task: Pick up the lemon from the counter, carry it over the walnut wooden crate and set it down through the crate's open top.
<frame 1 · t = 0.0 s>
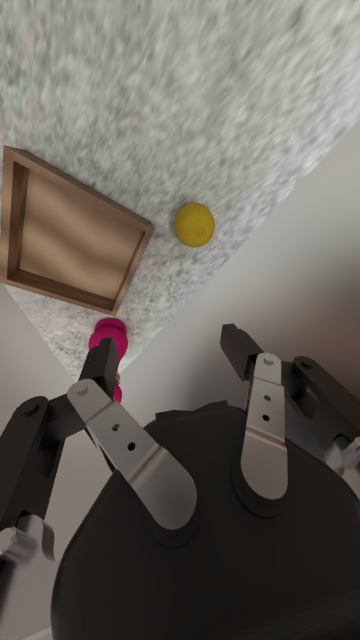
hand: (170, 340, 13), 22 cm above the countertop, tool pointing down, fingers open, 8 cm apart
lemon: (187, 220, 29), on the countertop
crate: (82, 245, 28), on the countertop
pepper mill: (111, 328, 40), on the countertop
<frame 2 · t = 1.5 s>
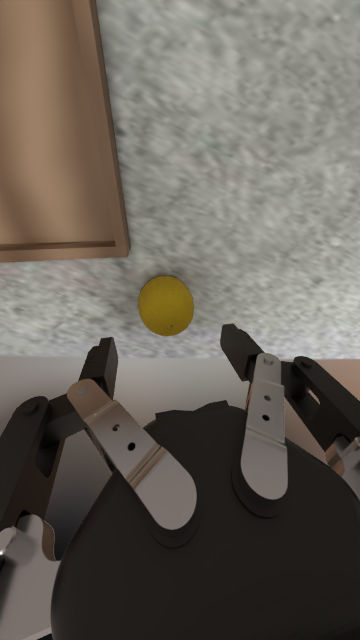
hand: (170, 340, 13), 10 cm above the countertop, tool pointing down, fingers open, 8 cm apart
lemon: (161, 289, 22), on the countertop
crate: (3, 136, 13), on the countertop
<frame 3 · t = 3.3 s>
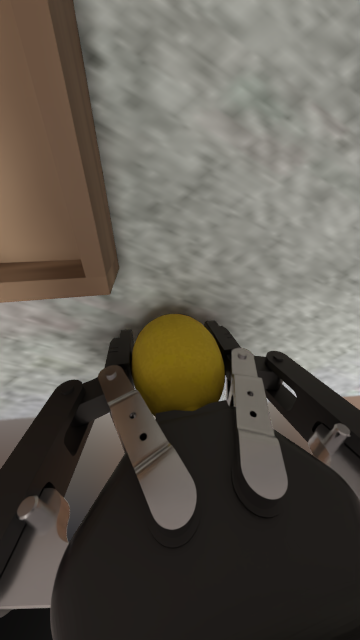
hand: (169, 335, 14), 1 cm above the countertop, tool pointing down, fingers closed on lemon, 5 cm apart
lemon: (167, 326, 15), on the countertop, touching gripper
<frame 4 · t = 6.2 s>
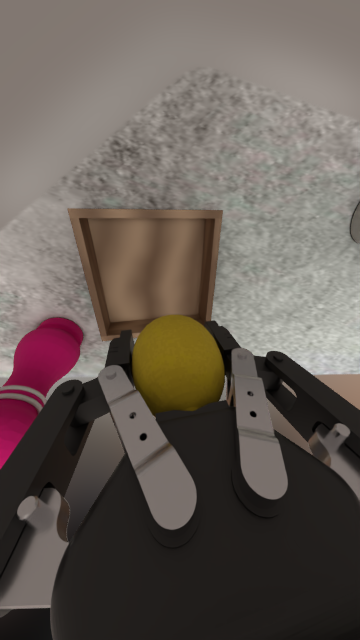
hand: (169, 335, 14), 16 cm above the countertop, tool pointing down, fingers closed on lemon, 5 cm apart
lemon: (167, 326, 15), point 14 cm above the countertop, touching gripper
crate: (153, 273, 27), on the countertop
pepper mill: (62, 333, 29), on the countertop
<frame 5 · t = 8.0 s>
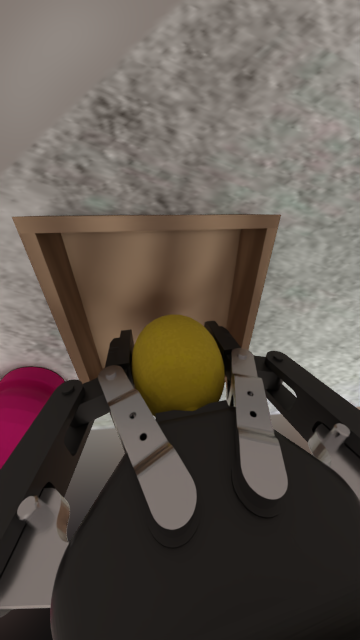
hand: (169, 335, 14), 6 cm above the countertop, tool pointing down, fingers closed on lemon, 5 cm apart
lemon: (167, 326, 15), point 4 cm above the countertop, touching gripper
crate: (161, 304, 19), on the countertop
pepper mill: (37, 384, 21), on the countertop
when the fingers open (4 cm above the countertop, at t = 9.2 s): lemon drops 2 cm, resting on crate.
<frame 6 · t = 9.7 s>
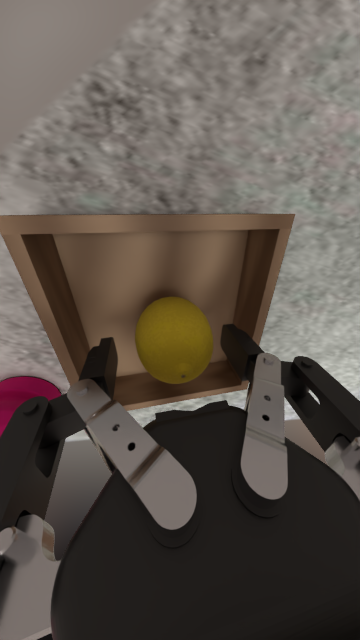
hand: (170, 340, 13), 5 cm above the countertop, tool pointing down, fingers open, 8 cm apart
lemon: (167, 311, 17), point 1 cm above the countertop, touching crate
crate: (162, 309, 18), on the countertop
pepper mill: (30, 394, 20), on the countertop
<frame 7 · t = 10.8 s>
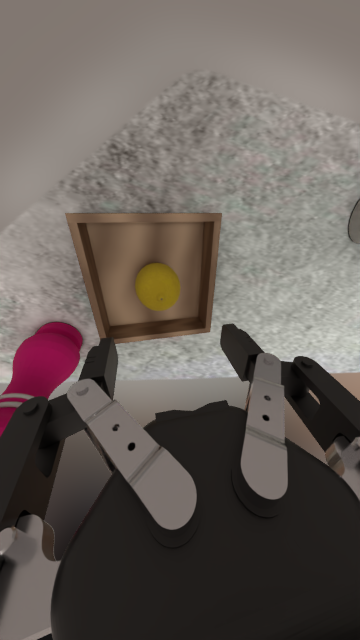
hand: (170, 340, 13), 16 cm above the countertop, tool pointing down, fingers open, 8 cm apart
lemon: (154, 277, 26), point 1 cm above the countertop, touching crate
crate: (152, 276, 27), on the countertop
pepper mill: (61, 338, 29), on the countertop
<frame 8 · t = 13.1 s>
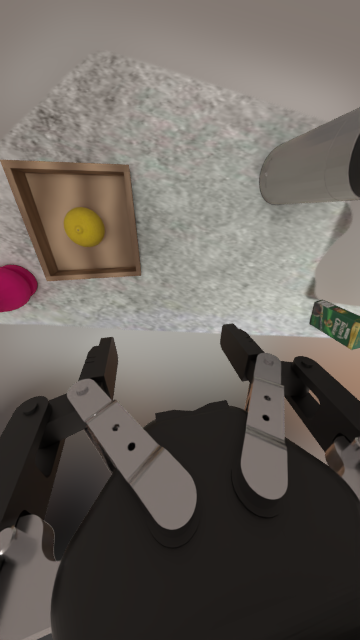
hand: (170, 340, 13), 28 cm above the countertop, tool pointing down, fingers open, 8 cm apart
lemon: (91, 226, 32), point 1 cm above the countertop, touching crate
coffee box: (315, 311, 54), on the countertop
crate: (90, 226, 32), on the countertop
pepper mill: (18, 280, 35), on the countertop
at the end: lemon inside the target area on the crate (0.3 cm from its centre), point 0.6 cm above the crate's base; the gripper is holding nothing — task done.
